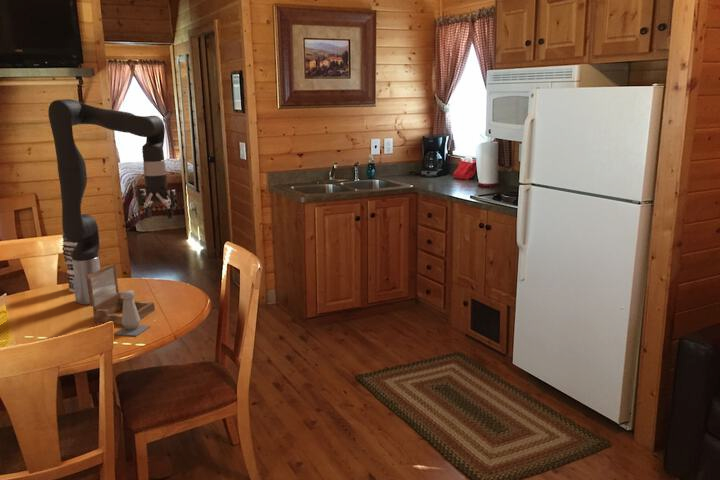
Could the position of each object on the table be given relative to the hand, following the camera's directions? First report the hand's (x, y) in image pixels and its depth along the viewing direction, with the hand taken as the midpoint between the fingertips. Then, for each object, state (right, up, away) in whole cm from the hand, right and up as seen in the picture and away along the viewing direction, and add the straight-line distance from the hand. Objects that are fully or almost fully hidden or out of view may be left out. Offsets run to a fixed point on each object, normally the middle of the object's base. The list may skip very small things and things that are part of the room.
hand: (159, 218), depth 219 cm
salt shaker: (-5, -38, -14) cm, 41 cm away
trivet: (-4, -38, -16) cm, 42 cm away
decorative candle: (-42, -28, +28) cm, 58 cm away
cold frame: (-11, -35, -3) cm, 37 cm away
